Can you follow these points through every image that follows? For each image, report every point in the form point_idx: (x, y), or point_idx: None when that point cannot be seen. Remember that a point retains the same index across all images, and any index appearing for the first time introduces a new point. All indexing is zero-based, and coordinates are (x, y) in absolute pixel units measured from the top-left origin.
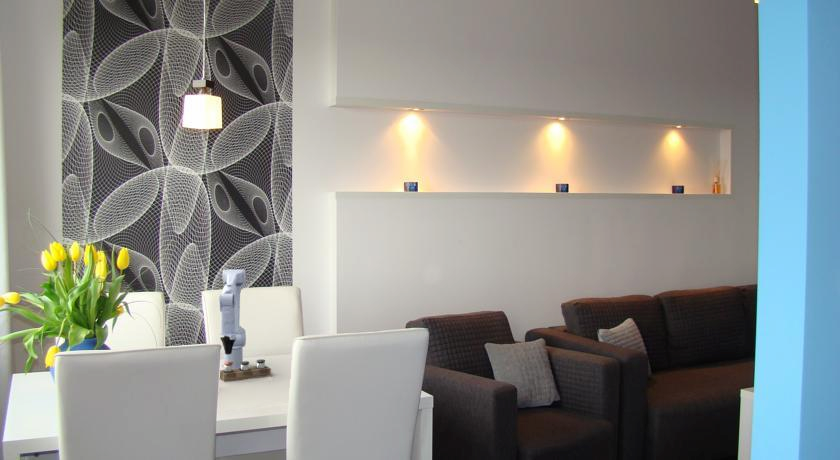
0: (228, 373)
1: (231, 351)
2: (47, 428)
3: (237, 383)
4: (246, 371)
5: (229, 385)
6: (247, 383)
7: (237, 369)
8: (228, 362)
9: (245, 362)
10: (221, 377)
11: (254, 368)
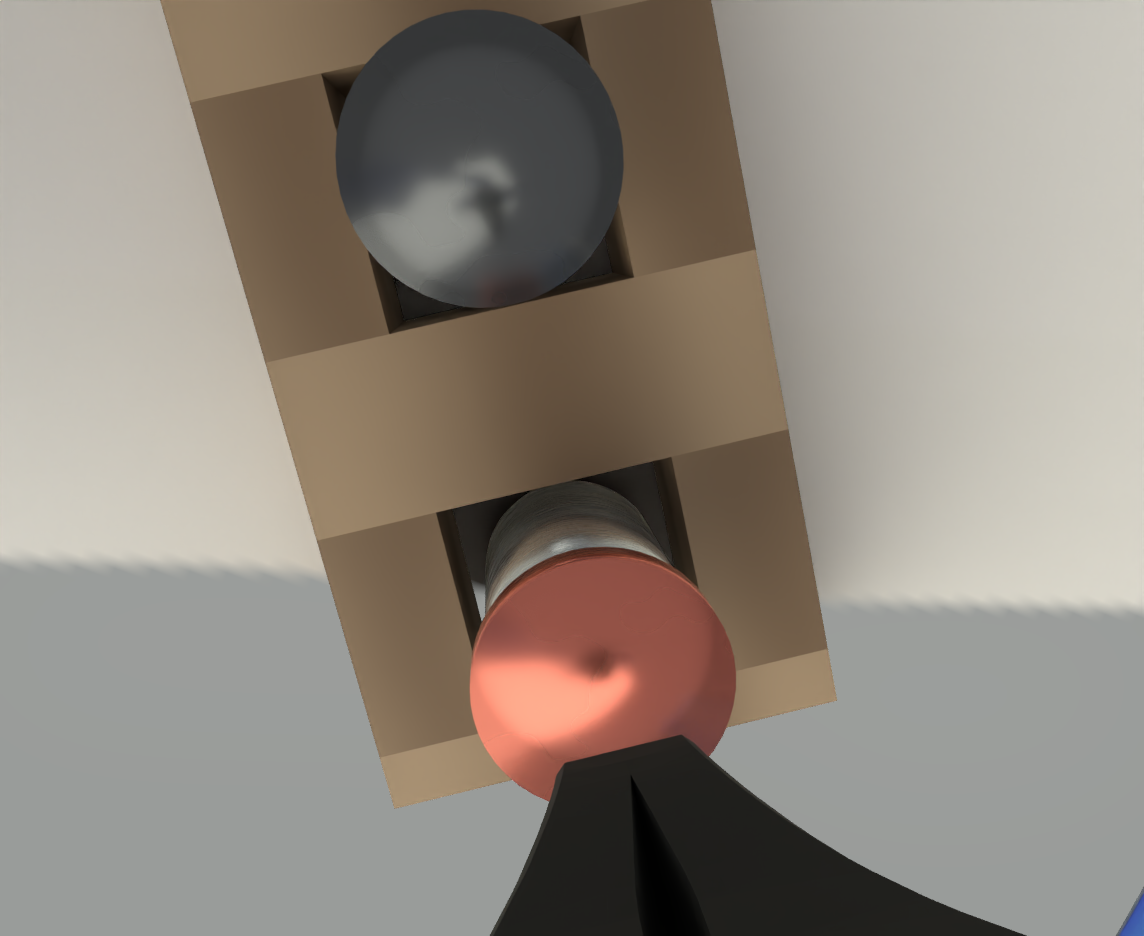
0: (784, 604)
1: (720, 774)
2: None
3: (1036, 391)
4: (723, 157)
5: (1129, 549)
6: (1120, 189)
7: (410, 373)
8: (572, 686)
9: (532, 146)
10: None
11: None
